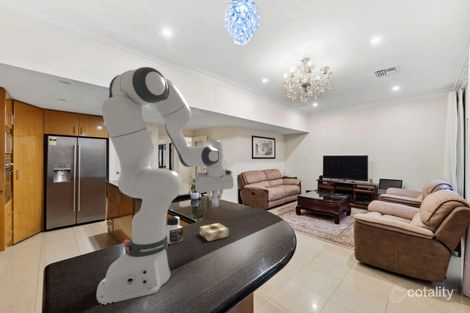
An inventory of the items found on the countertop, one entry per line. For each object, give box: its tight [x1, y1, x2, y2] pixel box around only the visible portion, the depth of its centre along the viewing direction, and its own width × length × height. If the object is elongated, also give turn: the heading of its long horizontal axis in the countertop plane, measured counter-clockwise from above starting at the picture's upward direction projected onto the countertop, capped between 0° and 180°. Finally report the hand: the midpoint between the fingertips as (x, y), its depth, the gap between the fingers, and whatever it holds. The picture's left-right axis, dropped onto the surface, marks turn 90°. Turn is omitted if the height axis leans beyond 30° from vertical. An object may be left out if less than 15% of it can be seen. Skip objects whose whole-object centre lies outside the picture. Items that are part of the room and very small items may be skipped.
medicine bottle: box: [166, 216, 184, 245], centre depth 103 cm, size 7×7×12 cm
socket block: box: [199, 222, 230, 242], centre depth 110 cm, size 12×12×4 cm
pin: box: [211, 190, 219, 208], centre depth 100 cm, size 3×3×9 cm
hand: (215, 199), depth 100 cm, fingers closed on pin, 3 cm apart
